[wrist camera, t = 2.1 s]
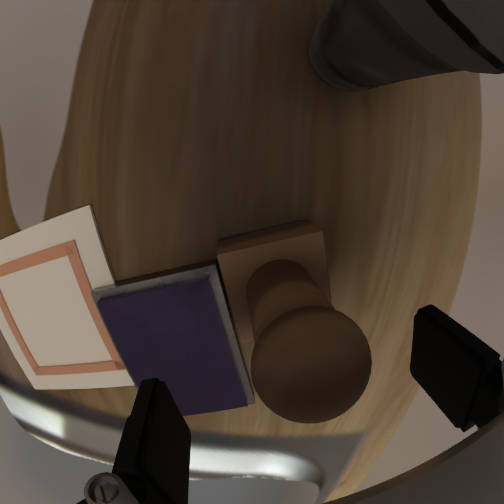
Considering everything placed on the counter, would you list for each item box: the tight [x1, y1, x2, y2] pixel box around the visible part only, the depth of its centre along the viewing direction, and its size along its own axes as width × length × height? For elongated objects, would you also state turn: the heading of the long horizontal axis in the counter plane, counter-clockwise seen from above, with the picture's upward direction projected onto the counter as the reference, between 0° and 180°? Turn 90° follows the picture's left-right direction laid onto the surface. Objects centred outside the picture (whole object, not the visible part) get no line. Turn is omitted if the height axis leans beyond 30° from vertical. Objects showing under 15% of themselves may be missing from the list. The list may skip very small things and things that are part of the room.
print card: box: [0, 205, 134, 389], centre depth 17 cm, size 13×13×1 cm
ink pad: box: [91, 259, 255, 416], centre depth 18 cm, size 11×8×2 cm
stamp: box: [217, 220, 372, 423], centre depth 12 cm, size 5×5×11 cm
